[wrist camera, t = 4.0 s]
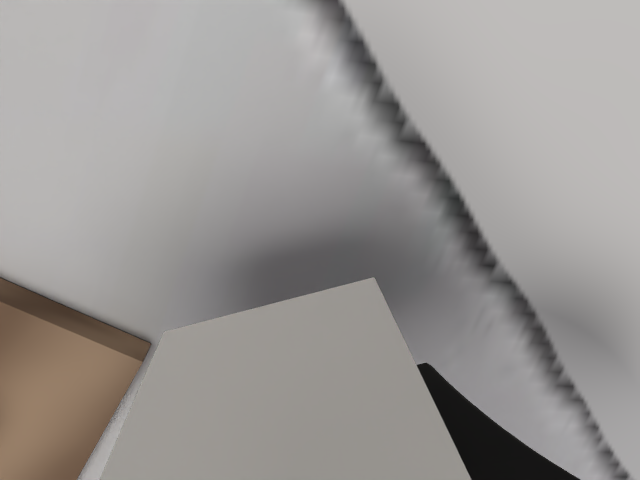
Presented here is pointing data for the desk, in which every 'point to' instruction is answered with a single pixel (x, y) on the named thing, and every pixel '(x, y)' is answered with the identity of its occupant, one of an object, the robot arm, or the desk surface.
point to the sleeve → (287, 399)
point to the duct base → (57, 384)
